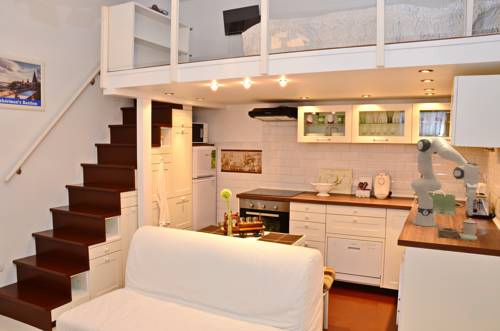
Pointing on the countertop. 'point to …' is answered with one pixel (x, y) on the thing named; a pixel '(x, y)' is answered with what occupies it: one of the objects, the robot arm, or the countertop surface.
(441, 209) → the grocery bag
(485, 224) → the countertop surface
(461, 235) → the tray
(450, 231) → the pocket block
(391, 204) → the countertop surface
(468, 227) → the teacup with lid
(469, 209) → the peg
